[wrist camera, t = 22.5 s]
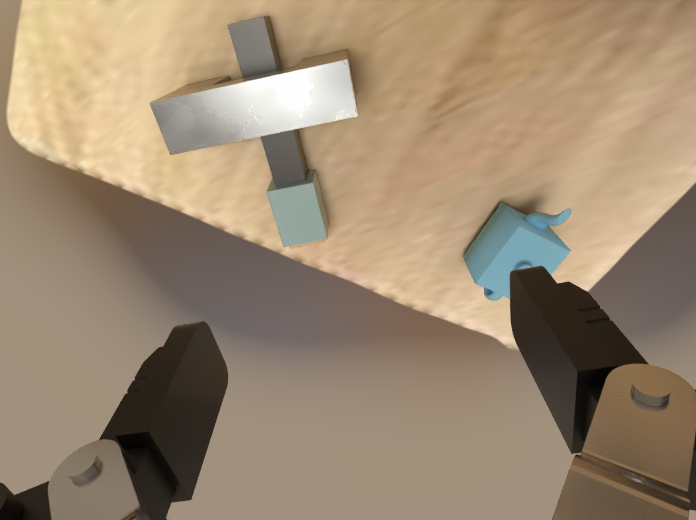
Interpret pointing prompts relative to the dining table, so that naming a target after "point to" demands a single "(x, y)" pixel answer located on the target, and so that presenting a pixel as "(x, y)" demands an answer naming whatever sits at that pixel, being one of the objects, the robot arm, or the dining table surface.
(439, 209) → the dining table surface
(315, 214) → the plug
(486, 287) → the teapot
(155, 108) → the bridge block
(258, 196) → the dining table surface
